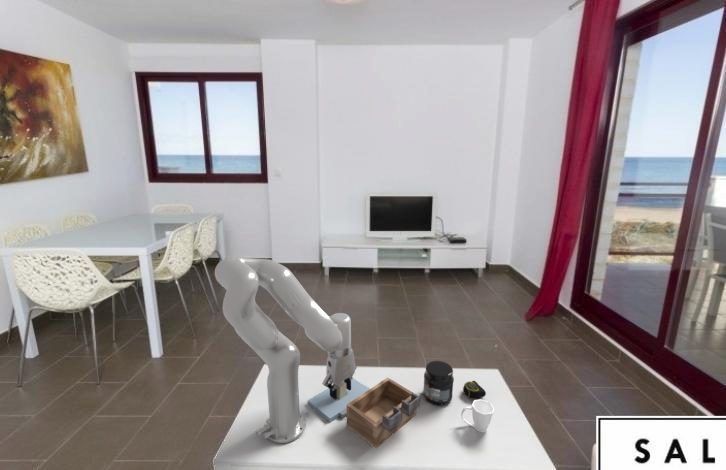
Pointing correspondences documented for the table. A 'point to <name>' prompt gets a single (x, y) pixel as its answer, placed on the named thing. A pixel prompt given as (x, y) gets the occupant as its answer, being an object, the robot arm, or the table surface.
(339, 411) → the door
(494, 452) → the table surface
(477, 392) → the tape measure
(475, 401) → the cup
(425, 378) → the supplement container
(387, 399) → the cabinet
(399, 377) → the table surface
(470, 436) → the table surface
